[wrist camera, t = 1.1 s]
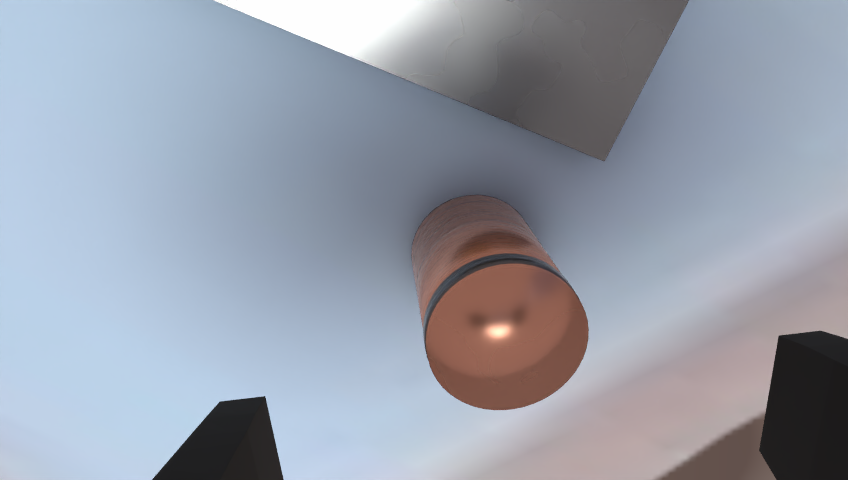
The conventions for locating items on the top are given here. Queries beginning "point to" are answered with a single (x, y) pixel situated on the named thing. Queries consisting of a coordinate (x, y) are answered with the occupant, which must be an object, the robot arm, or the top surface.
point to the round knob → (494, 306)
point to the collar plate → (502, 53)
